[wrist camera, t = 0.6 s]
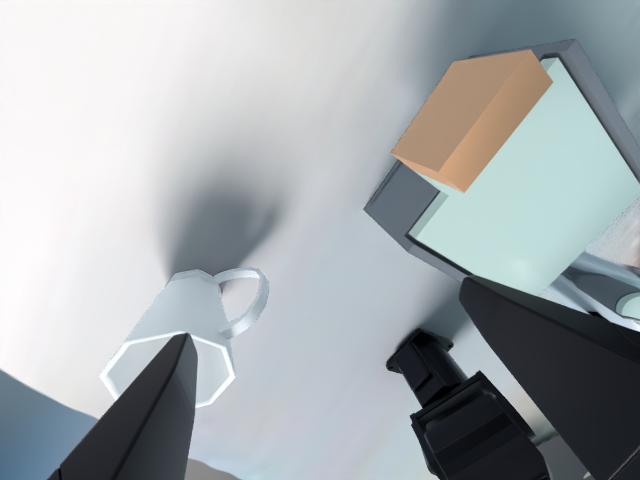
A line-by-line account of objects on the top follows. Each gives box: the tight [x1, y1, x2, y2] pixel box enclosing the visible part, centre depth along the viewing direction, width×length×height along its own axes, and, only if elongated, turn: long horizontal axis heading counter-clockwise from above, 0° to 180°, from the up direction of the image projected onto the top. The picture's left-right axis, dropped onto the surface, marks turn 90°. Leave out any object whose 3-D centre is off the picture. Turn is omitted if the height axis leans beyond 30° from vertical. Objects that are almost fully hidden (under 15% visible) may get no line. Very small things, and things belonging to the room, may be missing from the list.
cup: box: [99, 267, 269, 408], centre depth 19 cm, size 7×10×8 cm
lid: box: [391, 49, 640, 296], centre depth 16 cm, size 18×11×4 cm, turn 56°
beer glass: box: [545, 250, 640, 332], centre depth 25 cm, size 7×7×15 cm
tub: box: [364, 39, 640, 282], centre depth 21 cm, size 14×13×7 cm
